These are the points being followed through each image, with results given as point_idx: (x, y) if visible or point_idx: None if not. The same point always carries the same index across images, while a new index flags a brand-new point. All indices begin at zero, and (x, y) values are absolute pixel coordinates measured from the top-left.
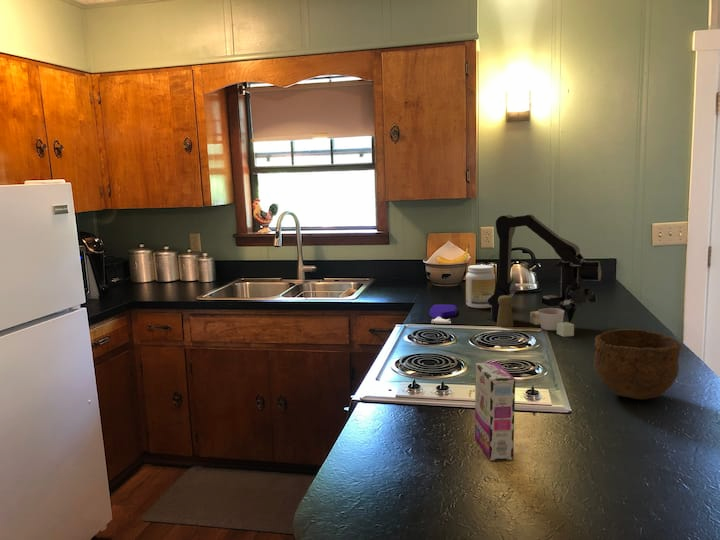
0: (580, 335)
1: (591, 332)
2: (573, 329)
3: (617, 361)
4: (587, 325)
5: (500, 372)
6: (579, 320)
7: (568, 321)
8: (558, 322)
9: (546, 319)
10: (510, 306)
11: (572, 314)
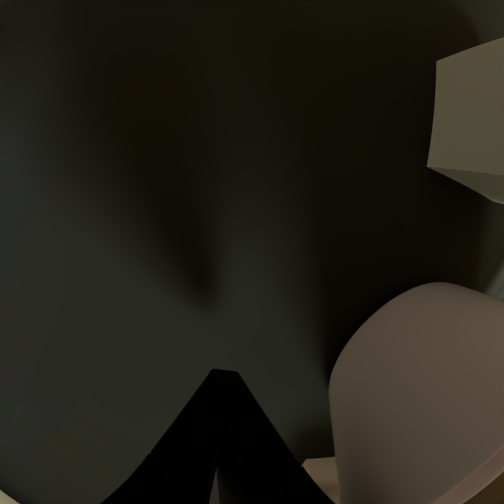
0: (380, 21)
1: (178, 33)
2: (479, 49)
3: None
4: (31, 294)
5: None
6: (41, 407)
7: (243, 384)
8: (497, 301)
9: None
10: (502, 493)
11: (187, 450)
